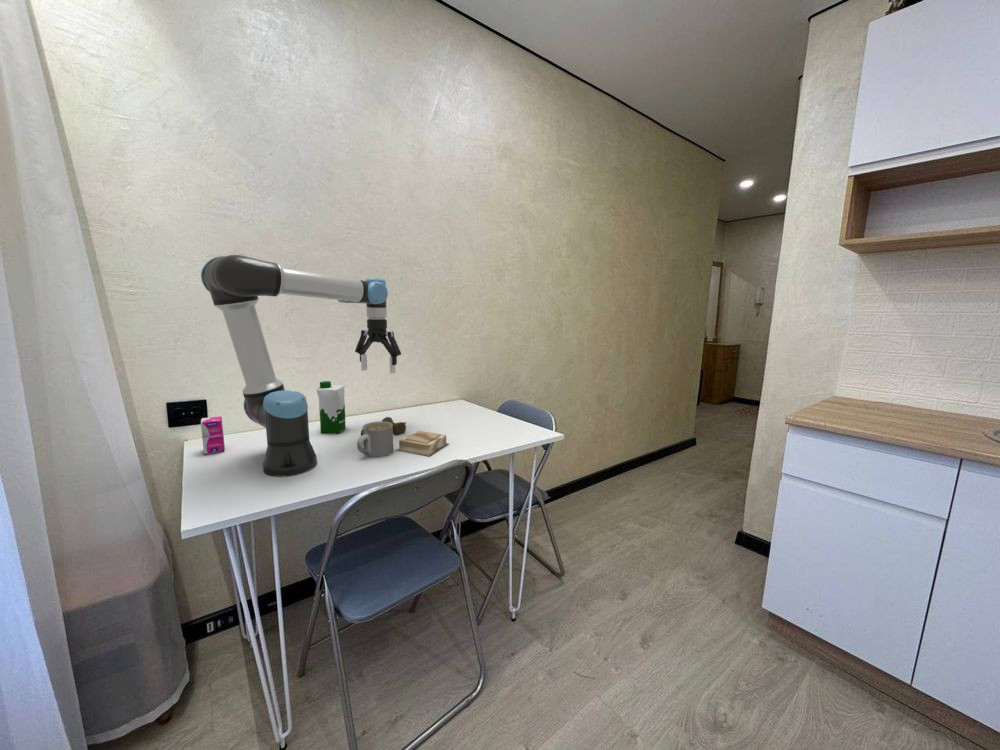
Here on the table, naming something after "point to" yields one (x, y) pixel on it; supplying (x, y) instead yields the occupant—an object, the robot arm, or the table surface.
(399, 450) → the mat
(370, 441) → the coffee mug
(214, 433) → the supplement box
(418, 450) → the lid
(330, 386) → the milk carton
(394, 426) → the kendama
